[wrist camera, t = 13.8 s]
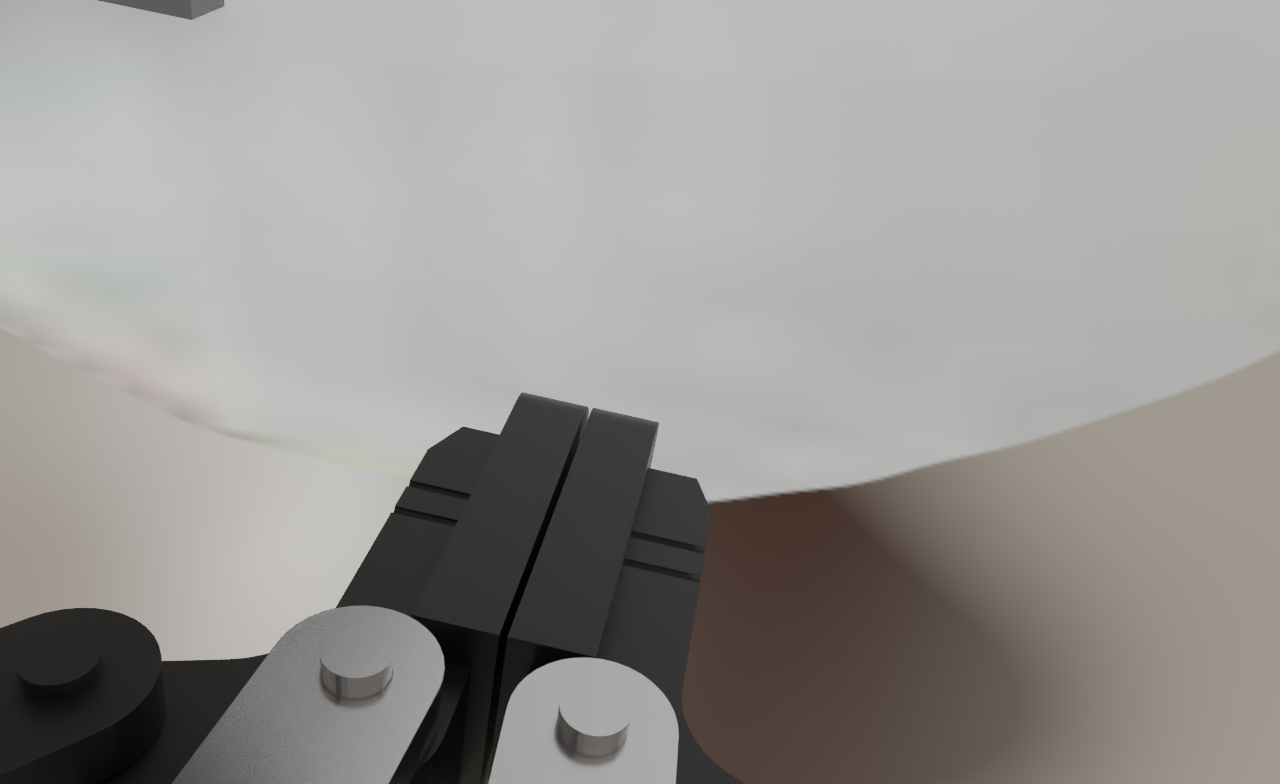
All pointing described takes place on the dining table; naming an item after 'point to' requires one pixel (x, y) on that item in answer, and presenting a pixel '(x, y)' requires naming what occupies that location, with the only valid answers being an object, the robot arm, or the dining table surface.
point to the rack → (173, 6)
